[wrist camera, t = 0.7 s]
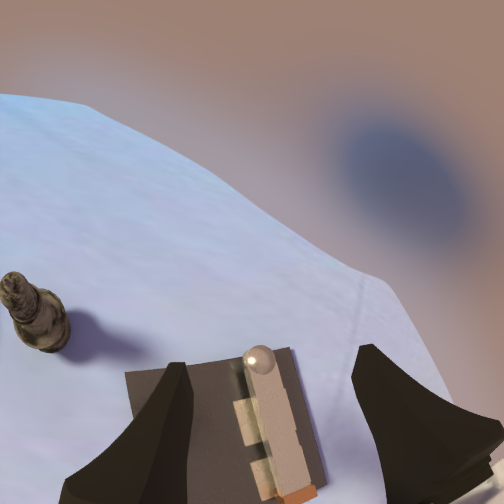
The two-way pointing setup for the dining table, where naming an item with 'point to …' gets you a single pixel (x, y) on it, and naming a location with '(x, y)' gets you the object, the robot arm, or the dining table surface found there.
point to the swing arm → (276, 427)
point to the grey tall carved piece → (35, 313)
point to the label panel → (232, 431)
